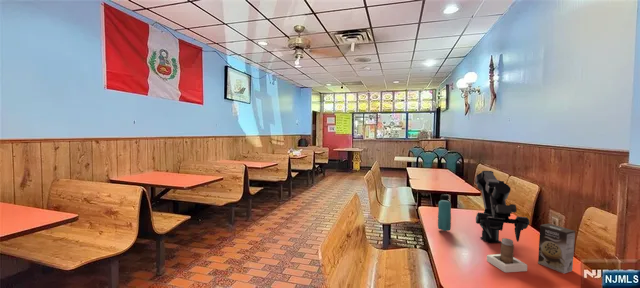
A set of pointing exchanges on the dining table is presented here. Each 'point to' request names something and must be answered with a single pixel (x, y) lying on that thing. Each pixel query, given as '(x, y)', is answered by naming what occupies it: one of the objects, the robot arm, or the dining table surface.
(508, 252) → the pepper mill
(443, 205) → the beverage bottle
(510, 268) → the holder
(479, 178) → the robot arm
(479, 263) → the dining table surface
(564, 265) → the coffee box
